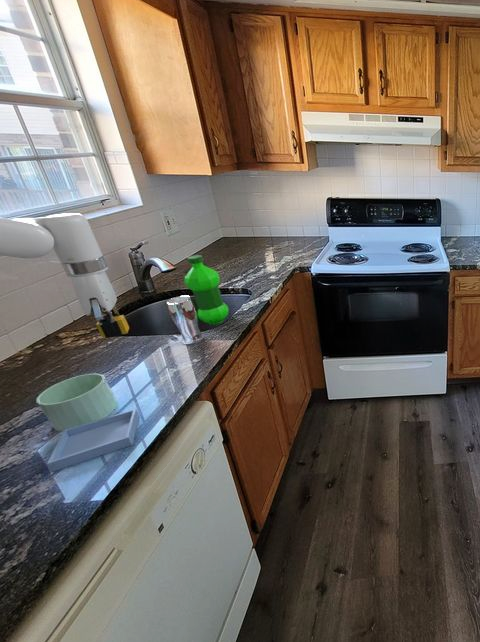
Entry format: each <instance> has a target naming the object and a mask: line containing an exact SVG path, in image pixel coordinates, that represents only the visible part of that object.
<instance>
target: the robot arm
mask: <svg viewBox="0 0 480 642" xmlns="http://www.w3.org/2000/svg"><path fill="white" fill-rule="evenodd" d="M52 250H54V253H55V254H56V257H57V259H58V261H59V262H60V265H61V267H62V269H63V271H64V274H65V275H66V277H67V278H70V279H71V283H72V286H73V289H74V292H75V295H76V297H77V299H78V302H79V304H80V306H81V309H82V311H83V314H84V315H85V316H87V317H89V316H91V315H92V314H94V318H95V320H96V321H97V322H99V324H100V326H101V328H102V330H103V332H104V335H105V337H106V338H105V339H110V338H115V337H120V336H122V335H123V334H122V332H121V330H120V327H119V325H118V323H117V321H114V318H113V317H115V316H120V314H119V310H118V308H117V306H116V303H117V301H118V298H117V294H116V292H115V289H114V287H113V285H112V283H111V281H110V278H109V276H108V275H107V272H106V271H108V269H109V266H108V264H107V261H106V260H105V258H104V257H105V256H104V255H103V253H102V251H101V248H100V246H99V244H98V241H97V239H96V237H95V235H94V232H93V230H92V227H91V225H90V222H89V220H88V219H87V217H86V216H85V215H83V214H81V213H74V212H72V213H71V212H70V213H69V212H68V213H60V214H58V213H57V214H52V215H48V216H45V217H17V218H14V217H13V218H7V217H2V216H0V256H3V257H11V258H12V257H13V258H18V259H37V258H41V257H44V256H46V255H49V253H50V252H51V251H52Z"/></svg>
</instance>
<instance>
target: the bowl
mask: <svg viewBox="0 0 480 642" xmlns="http://www.w3.org/2000/svg"><path fill="white" fill-rule="evenodd" d="M35 399H36V401H35V402H36V404H37V405H38V407H39V409H40V410H41V412H42V413H43V415H44V417H45V418H46V419H47V421H48V422H49V424H50V426H51V427H52V428H53V430H55V431H56V432H60V433H61V432H62V433H63V431H64V430H66V429H70V428H73V427H76V426H80V425H83V424H86V423H90V422H93V421H96V420H100V419H103V418H106V417H109V415H110V414H112V413H113V412H114V411H115V410H116V408H117V407H118V404H119V402H118V400H117V398H116V396H115V394H114V392H113V390H112V388H111V386H110V384H109V383H108V381H107V379H106V377H105V375H104V374H101V373H95V372H94V373H86V374H81V375H77V376H73V377H70V378H67V379H65V380H62V381H59V382H57V383H55V384H53V385H51V386H49V387H48V388H46V389H45V390H44V391H42V392H41V393H39V395H38V396H36V398H35ZM114 409H115V410H114Z"/></svg>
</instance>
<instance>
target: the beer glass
mask: <svg viewBox="0 0 480 642" xmlns="http://www.w3.org/2000/svg"><path fill="white" fill-rule="evenodd" d="M165 303H166V306H167V310H168V314H169V315H170V318H171V320H172V321H173V323H174V325H175V326H176V327H177V329H178V331H179V332H180V335H181V340H182V343H183V345H193V344H197V343H200V342H201V341H203V340H204V338H205V336H204V334H203V332H202V331H201V329H200V325H199V317H198V311H197V310H196V307H195V304H194V302H193V300H192V297H191V296H190V295H180V296H176V297H172V298H169V299H168V300H166V302H165Z"/></svg>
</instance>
